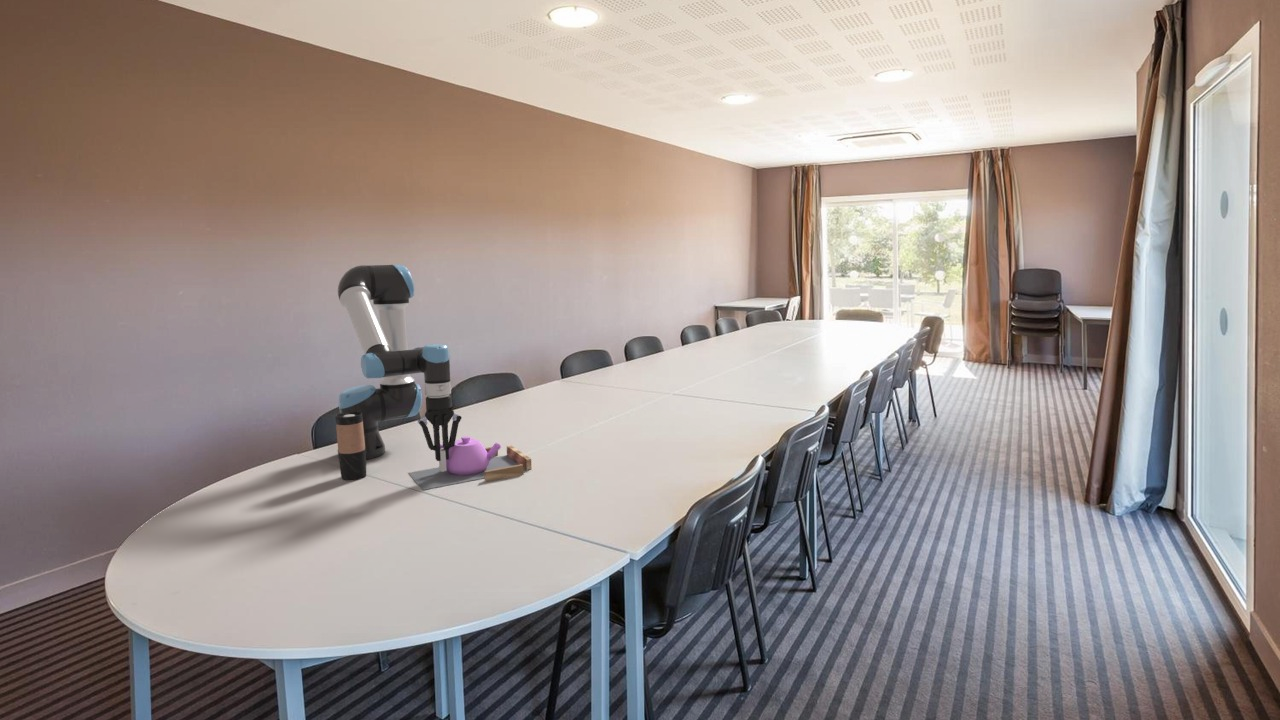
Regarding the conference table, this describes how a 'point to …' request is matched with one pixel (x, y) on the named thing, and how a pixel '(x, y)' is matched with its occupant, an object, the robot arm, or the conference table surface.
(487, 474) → the bay
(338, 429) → the travel mug
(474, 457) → the teapot
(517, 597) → the conference table surface
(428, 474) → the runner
